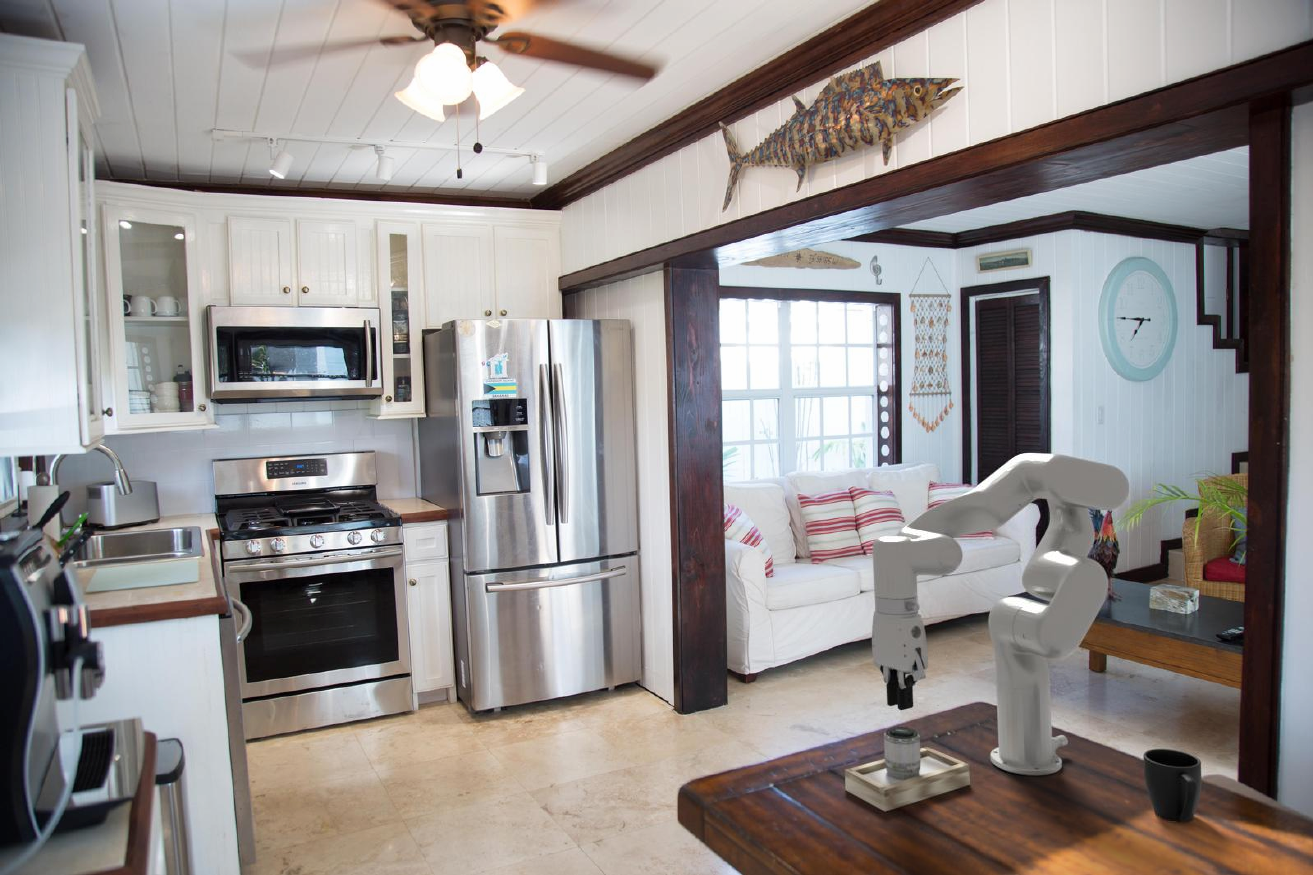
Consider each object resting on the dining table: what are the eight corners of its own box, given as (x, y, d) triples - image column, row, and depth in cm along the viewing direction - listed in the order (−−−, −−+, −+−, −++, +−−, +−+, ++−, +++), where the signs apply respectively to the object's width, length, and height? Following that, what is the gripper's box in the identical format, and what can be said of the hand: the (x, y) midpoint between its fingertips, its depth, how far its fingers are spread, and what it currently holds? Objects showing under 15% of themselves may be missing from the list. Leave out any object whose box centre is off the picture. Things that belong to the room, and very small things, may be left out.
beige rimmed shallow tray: (928, 765, 170) (927, 746, 170) (969, 784, 161) (969, 764, 161) (845, 790, 161) (844, 770, 161) (885, 811, 152) (884, 790, 151)
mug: (1163, 836, 139) (1161, 776, 138) (1138, 803, 150) (1136, 747, 150) (1221, 839, 137) (1219, 778, 137) (1191, 805, 149) (1189, 749, 149)
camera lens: (919, 782, 156) (917, 738, 156) (883, 778, 159) (881, 734, 158) (922, 768, 162) (921, 725, 162) (887, 764, 164) (886, 722, 164)
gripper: (944, 610, 154) (948, 714, 155) (882, 595, 168) (886, 691, 169) (911, 616, 151) (916, 723, 151) (851, 601, 165) (855, 699, 165)
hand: (900, 705), depth 160 cm, fingers closed
